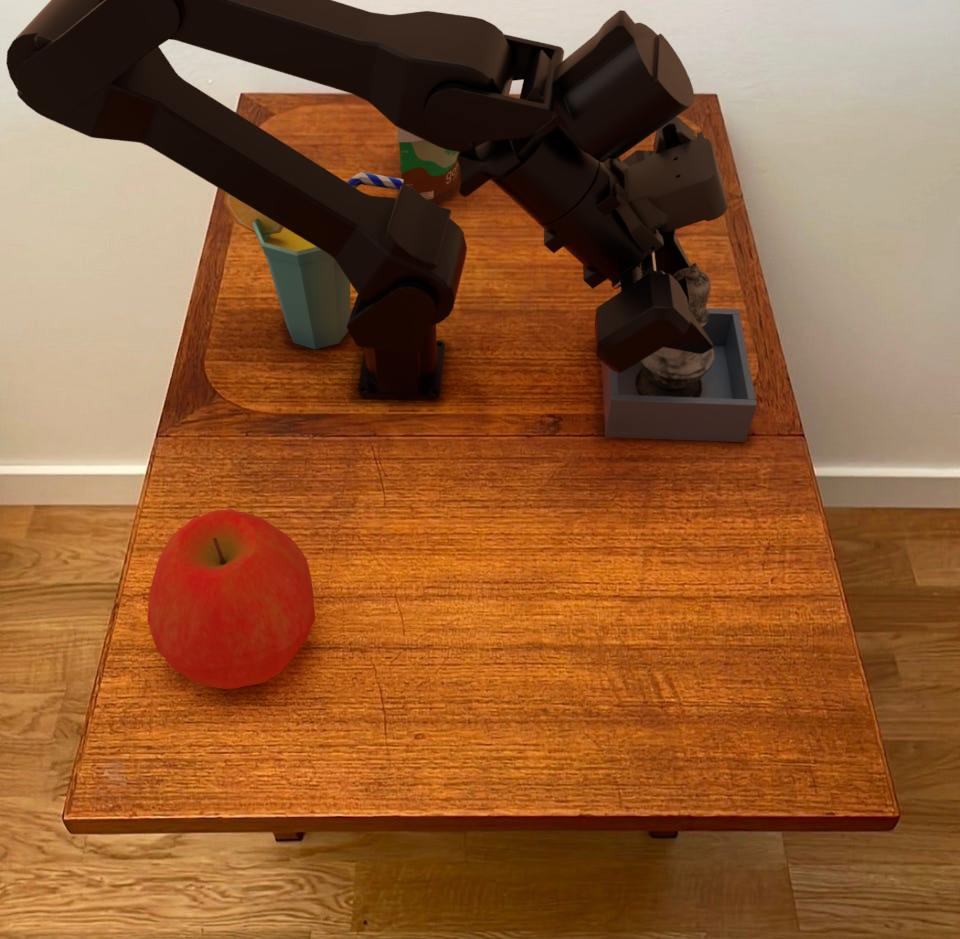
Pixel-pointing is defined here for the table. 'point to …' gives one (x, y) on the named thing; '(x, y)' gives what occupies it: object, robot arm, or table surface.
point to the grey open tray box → (688, 418)
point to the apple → (230, 600)
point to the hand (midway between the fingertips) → (703, 322)
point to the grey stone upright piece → (674, 367)
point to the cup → (305, 273)
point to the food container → (427, 167)
